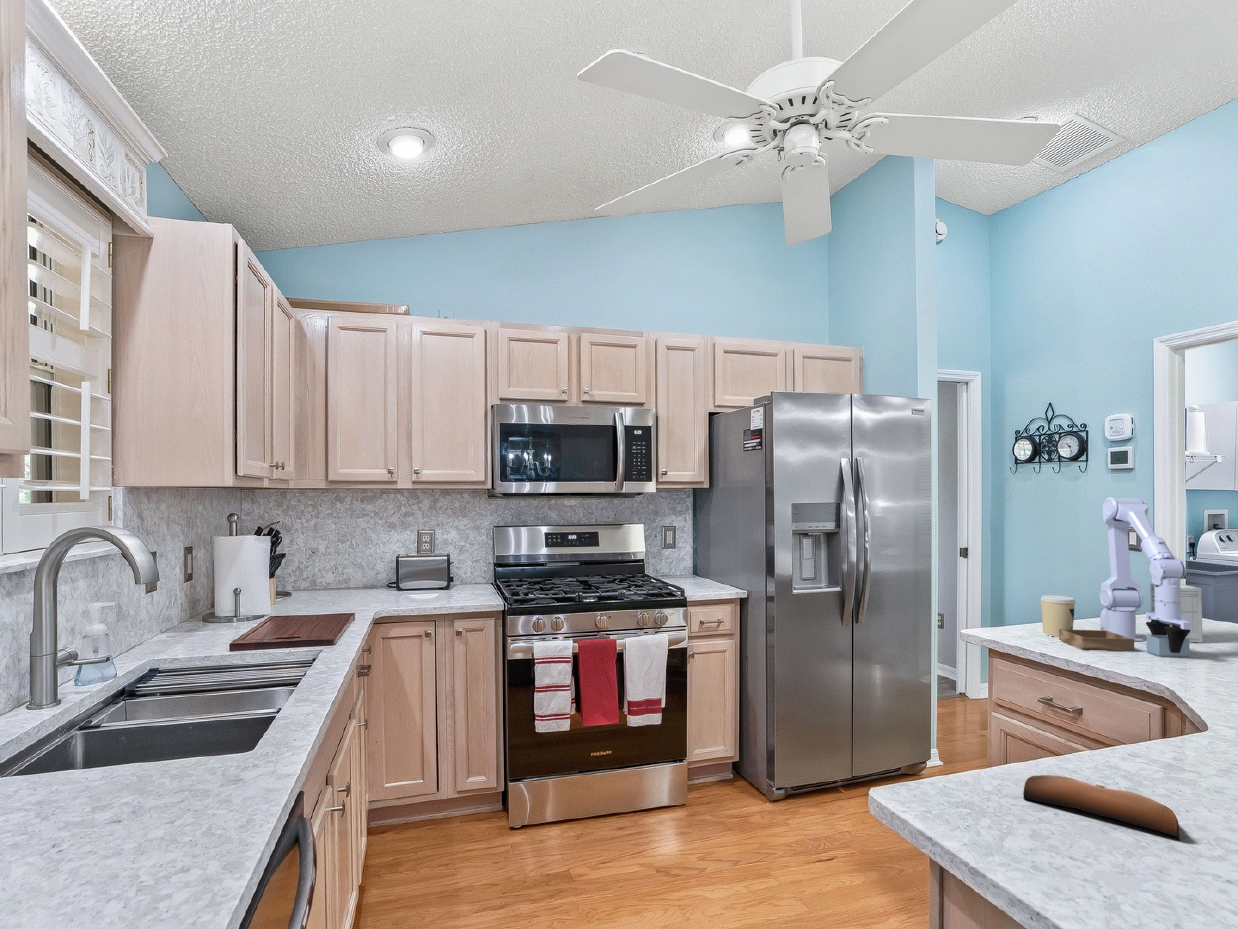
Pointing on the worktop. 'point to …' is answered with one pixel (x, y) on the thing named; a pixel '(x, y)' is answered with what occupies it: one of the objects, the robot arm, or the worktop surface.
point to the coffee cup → (1057, 613)
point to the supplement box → (1188, 609)
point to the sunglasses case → (1102, 802)
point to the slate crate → (1165, 646)
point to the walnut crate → (1096, 640)
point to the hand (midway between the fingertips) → (1167, 650)
